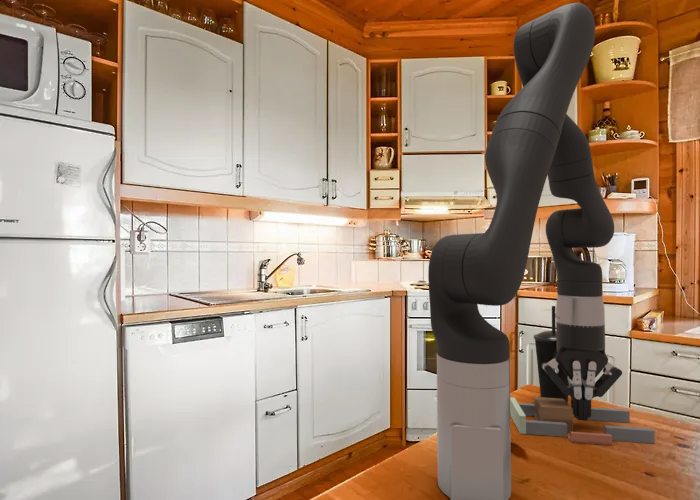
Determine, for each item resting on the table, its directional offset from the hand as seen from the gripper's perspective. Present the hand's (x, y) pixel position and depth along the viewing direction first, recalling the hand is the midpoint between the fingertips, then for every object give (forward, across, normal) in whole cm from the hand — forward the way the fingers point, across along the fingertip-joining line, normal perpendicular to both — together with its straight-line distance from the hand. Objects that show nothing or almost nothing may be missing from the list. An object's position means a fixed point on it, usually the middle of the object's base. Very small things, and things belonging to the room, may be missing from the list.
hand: (581, 418), depth 72 cm
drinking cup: (+2, -1, +12) cm, 12 cm away
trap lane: (+2, -1, 0) cm, 2 cm away
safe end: (+2, -11, 0) cm, 11 cm away
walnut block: (+2, -5, 0) cm, 5 cm away
